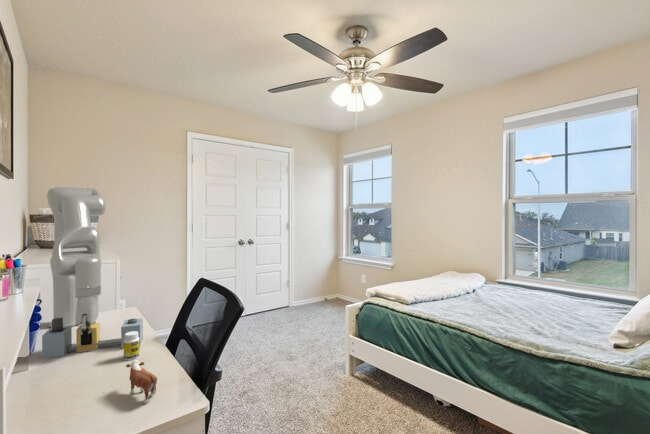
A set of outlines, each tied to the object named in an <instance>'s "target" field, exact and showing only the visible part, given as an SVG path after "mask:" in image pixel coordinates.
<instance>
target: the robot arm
mask: <svg viewBox="0 0 650 434" xmlns="http://www.w3.org/2000/svg"><path fill="white" fill-rule="evenodd" d="M46 199H47V203H48V205H49V208H50V210H51V212H52V214H53V215H52V216H53V222H54V223H53V225H54V227H53V231H54V232H53V233H54V234H53V235H54V244H53V246H52V251H51V252H52V253H51V258H50V259H49V265H50V271H51V276H52V297H53V298H52V299H53V300H52V301H53V302H52V304H53V306H52V309H53V318H52V319H55V318H63V326H72V327H79V326H80V325H81V345H90V344H92V333H91V325H92V324H96V320H97V319H98V317H99V296H101V295H102V285H101V284H102V283H101V280H102V279H101V278H102V276H101V275H102V273H101V271H102V270H101V269H102V260H101V258H100V257H101V255H100V251H101V249H100V248H101V247H100V233H99V229H97V228H96V227H94V226H92V223H91V217H90V216H102V215H104V214H105V212H106V207H107V205H106V201H105V199H104V197H103V196H102V194H101V192H99V190H97V189H95V188H91V187H89V188H88V187H72V186H71V187H69V186H57V187H55V186H54V187H52V188H49V190H48V191H47V193H46ZM81 248H82V249H83V248H85V250H72V251H63V249H81ZM86 324H89V325H86ZM75 325H76V326H75ZM86 326H89V329H88V328H86ZM48 327H49V328H50V327H51V328H52V321H50V322H49V323H48Z"/></svg>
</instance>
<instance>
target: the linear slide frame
mask: <svg viewBox="0 0 650 434" xmlns="http://www.w3.org/2000/svg"><path fill="white" fill-rule="evenodd" d="M143 321H144V320H143V318H129V319H124V322H123V324H121V327H120V330H121V331H120V333H121V334H120V338H121V346H120V347H121V350H122V349H123V350H124V340H125V334H126V333H128V332H131V331H137V332H138V337H139V340H140V341H139V348H141V345H142V342H143V339H144V329H143V328H144V326H143V325H144V322H143ZM72 328H73V326H63V330H62V331H58V332H52V328H50V327H49V329H48V330H47V331H45V333H44V334H42V336H41V343H42V344H41V347H42V348H41V350H42V352H41V355H42V357H41V358H42V360H46V359H53V358H61V357H62V358H63V357H65V356H66V355H67V354H68V353H67V347H68V345H69V344H73V343H72V342H73V341H72V338H73V337H72V336H73V335H72V333H73V332H72Z"/></svg>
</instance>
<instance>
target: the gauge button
mask: <svg viewBox="0 0 650 434" xmlns="http://www.w3.org/2000/svg"><path fill="white" fill-rule="evenodd" d="M51 322H52V332H58V331H62V330H63V318H55V319H54V318H52V319H51Z"/></svg>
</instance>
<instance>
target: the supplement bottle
mask: <svg viewBox="0 0 650 434" xmlns="http://www.w3.org/2000/svg"><path fill="white" fill-rule="evenodd" d="M139 341H140V340H139V337H138V332H137V331H131V332H128V333H126V334H125V340H124V349H123V360H125V361H134V360H137V358H139V357H140V347H139Z"/></svg>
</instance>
